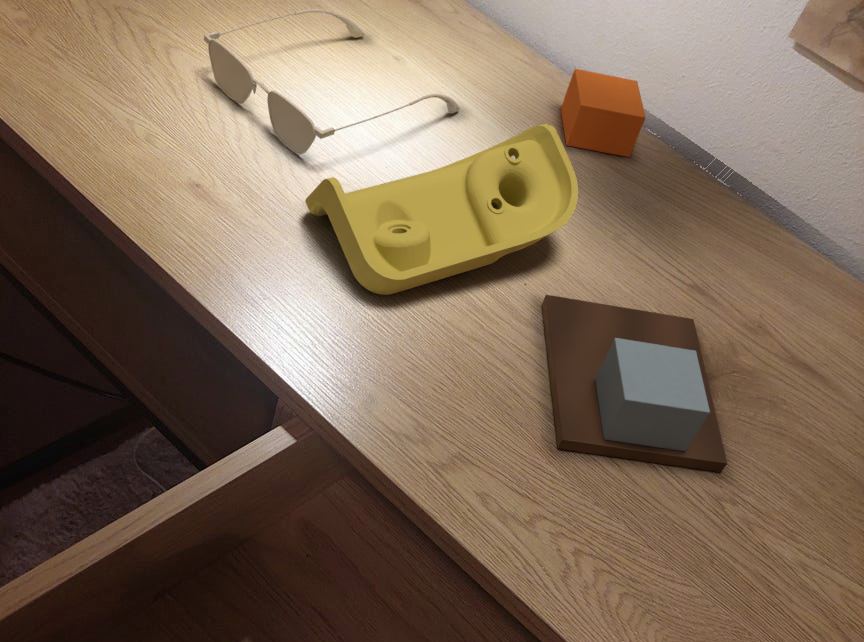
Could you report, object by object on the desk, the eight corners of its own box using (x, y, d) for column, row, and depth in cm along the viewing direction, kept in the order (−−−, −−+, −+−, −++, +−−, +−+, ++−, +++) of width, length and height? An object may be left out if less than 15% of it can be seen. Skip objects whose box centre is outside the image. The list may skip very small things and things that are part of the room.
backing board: (688, 328, 84) (693, 318, 83) (721, 472, 75) (727, 463, 74) (541, 304, 82) (545, 294, 81) (557, 449, 73) (562, 439, 73)
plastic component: (377, 287, 76) (322, 159, 76) (346, 326, 83) (296, 209, 83) (596, 221, 83) (545, 105, 83) (551, 262, 90) (504, 154, 90)
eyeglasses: (199, 73, 92) (201, 28, 88) (354, 30, 101) (362, -13, 98) (313, 172, 86) (320, 128, 83) (466, 117, 96) (478, 75, 92)
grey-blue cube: (673, 390, 78) (696, 350, 74) (685, 452, 74) (710, 412, 71) (594, 378, 77) (614, 337, 74) (603, 440, 73) (625, 399, 70)
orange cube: (621, 120, 100) (637, 80, 97) (629, 157, 97) (646, 117, 94) (560, 108, 100) (574, 68, 96) (565, 145, 96) (580, 104, 93)
